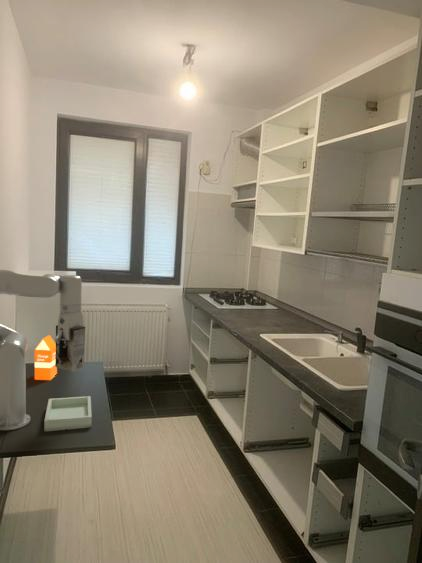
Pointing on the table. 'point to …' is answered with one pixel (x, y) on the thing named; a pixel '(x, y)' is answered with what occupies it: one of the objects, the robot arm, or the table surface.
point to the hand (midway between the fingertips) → (69, 354)
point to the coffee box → (72, 350)
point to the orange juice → (45, 359)
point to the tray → (68, 413)
